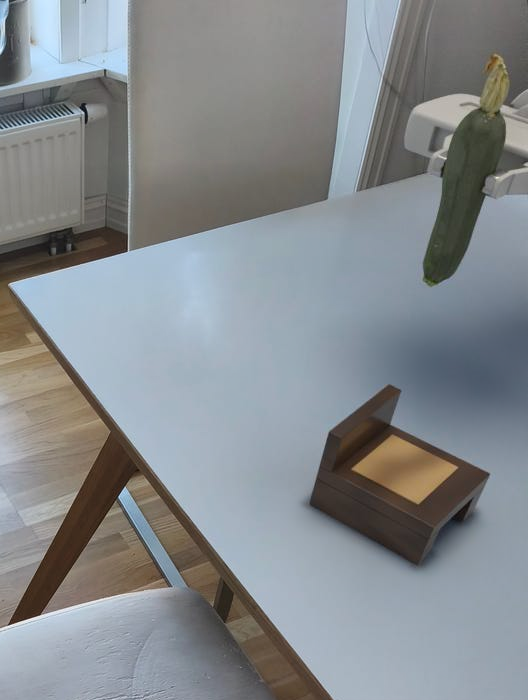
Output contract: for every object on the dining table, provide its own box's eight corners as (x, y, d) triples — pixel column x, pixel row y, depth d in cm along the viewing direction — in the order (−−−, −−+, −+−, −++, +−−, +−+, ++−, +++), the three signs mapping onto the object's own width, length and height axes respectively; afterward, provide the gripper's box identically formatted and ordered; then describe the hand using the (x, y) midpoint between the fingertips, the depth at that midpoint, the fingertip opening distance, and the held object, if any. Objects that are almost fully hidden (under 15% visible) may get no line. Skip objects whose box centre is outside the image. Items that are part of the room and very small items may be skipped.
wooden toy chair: (472, 513, 85) (507, 438, 78) (417, 567, 81) (448, 493, 74) (365, 457, 91) (389, 383, 84) (308, 505, 87) (328, 431, 80)
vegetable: (459, 299, 86) (542, 66, 70) (415, 302, 85) (489, 70, 70) (443, 276, 88) (519, 47, 73) (400, 279, 88) (468, 50, 73)
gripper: (466, 65, 86) (376, 104, 81) (672, 128, 76) (584, 177, 70) (446, 134, 91) (359, 175, 86) (636, 202, 80) (551, 253, 75)
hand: (462, 177), depth 78 cm, fingers closed on vegetable, 4 cm apart
